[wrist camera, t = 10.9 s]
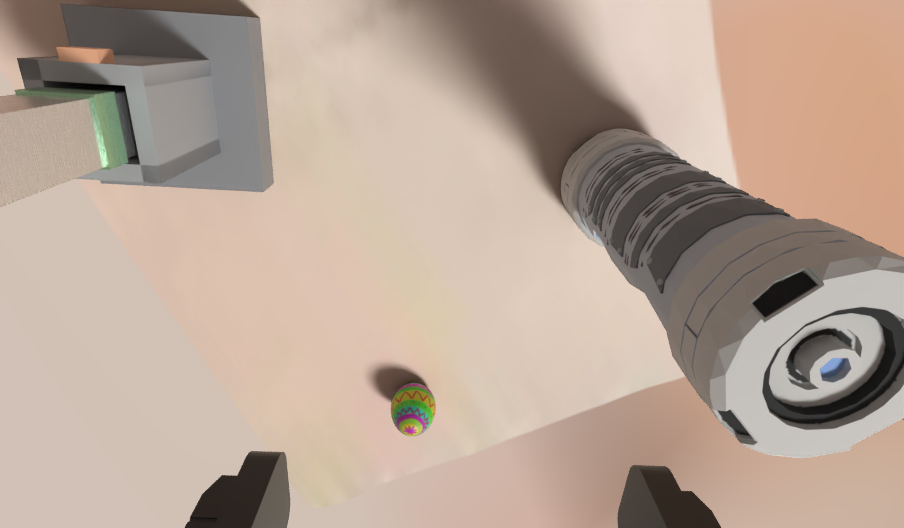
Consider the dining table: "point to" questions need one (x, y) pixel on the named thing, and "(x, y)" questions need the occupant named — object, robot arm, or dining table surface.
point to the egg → (413, 409)
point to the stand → (172, 92)
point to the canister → (750, 296)
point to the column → (61, 136)
